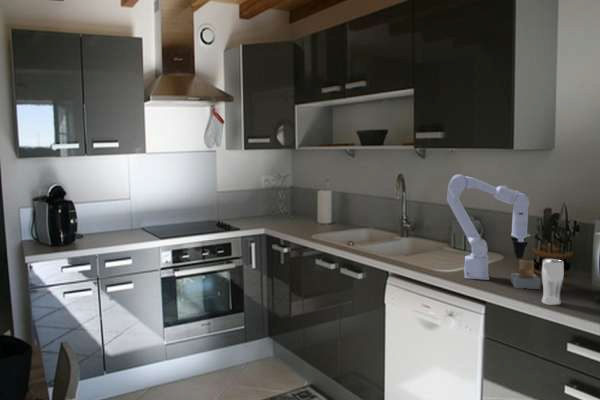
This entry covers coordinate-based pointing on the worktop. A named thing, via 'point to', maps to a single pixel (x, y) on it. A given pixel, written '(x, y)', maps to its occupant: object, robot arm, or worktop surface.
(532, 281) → the slate block
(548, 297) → the beer glass
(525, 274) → the walnut block
